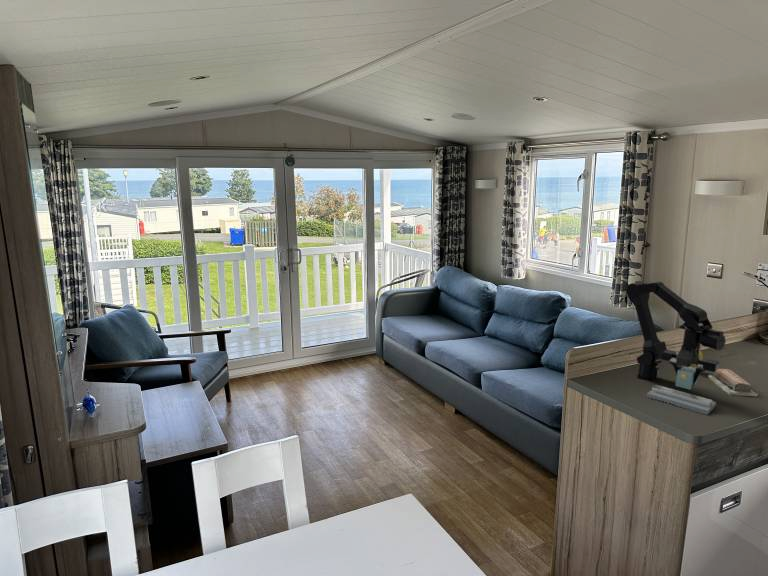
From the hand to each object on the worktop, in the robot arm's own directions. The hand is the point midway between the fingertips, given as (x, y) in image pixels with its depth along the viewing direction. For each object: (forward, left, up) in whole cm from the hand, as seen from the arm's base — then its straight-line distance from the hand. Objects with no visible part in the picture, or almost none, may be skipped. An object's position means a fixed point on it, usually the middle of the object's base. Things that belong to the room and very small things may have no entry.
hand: (686, 381), depth 203 cm
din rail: (+2, -11, -3) cm, 11 cm away
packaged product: (+11, +19, -5) cm, 22 cm away
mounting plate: (+2, -11, -4) cm, 12 cm away
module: (0, 0, -1) cm, 1 cm away
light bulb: (-5, +25, -4) cm, 26 cm away
